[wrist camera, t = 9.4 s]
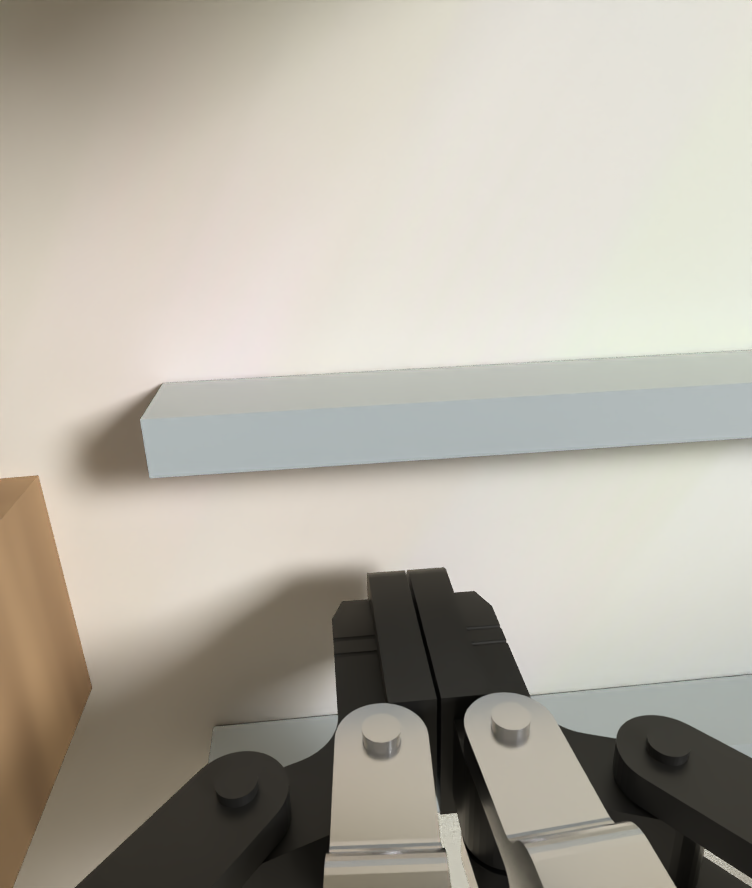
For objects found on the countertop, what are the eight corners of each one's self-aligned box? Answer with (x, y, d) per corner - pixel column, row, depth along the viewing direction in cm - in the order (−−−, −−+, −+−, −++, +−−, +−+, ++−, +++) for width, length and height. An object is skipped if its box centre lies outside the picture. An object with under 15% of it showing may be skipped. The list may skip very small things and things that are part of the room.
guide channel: (1155, 327, 14) (1281, 350, 13) (1020, 679, 18) (1104, 739, 16) (163, 382, 13) (139, 419, 11) (218, 760, 16) (208, 838, 14)
